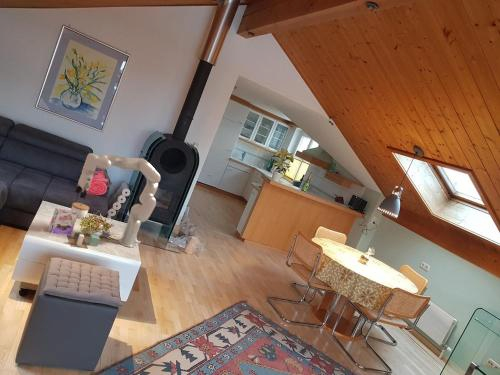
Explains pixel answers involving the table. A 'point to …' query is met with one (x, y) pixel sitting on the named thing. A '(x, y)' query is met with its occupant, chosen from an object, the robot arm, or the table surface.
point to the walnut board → (74, 240)
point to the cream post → (80, 240)
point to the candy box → (63, 221)
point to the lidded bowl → (80, 209)
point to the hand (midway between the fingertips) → (79, 195)
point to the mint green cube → (93, 240)
